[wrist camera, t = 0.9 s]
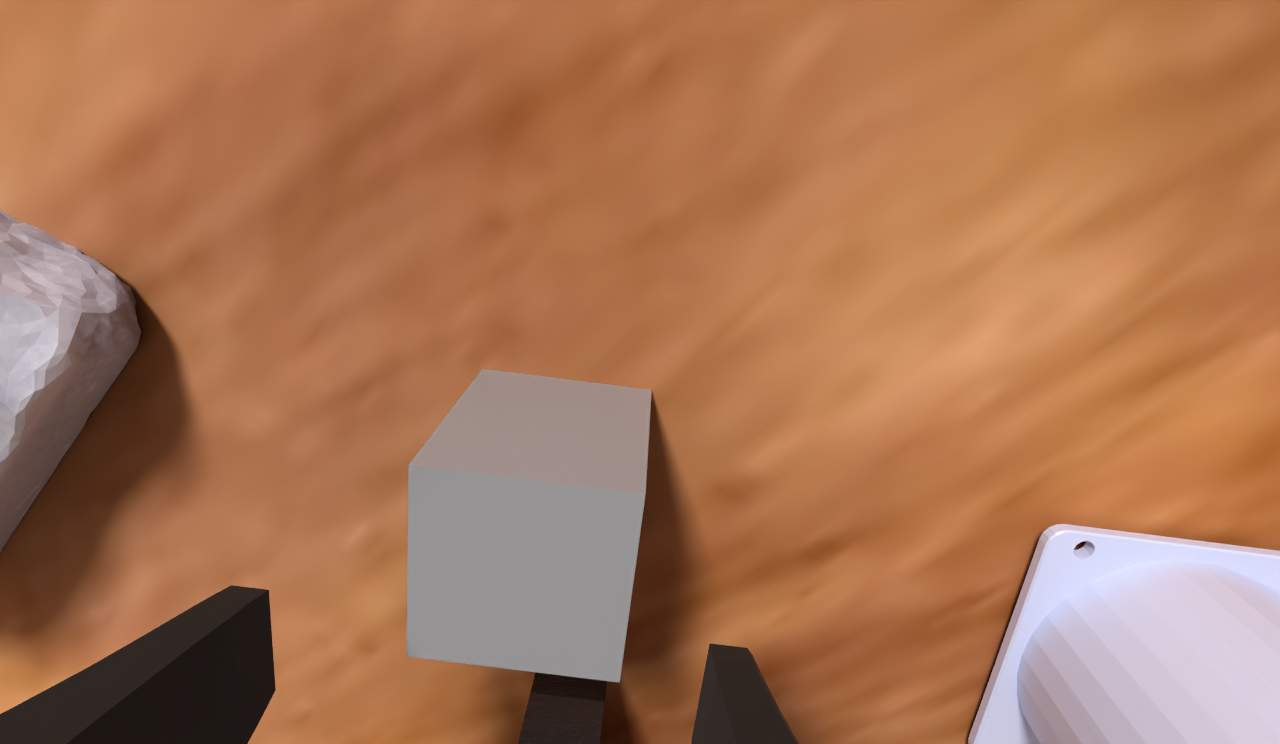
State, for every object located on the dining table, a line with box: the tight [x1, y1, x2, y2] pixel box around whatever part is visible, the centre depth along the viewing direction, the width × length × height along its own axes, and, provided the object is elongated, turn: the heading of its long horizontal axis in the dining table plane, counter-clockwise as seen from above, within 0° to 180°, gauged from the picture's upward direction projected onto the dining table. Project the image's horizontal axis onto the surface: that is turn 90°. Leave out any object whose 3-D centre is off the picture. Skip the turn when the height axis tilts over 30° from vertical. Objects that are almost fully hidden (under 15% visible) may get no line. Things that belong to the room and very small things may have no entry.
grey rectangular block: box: [407, 369, 652, 683], centre depth 16 cm, size 4×4×6 cm
